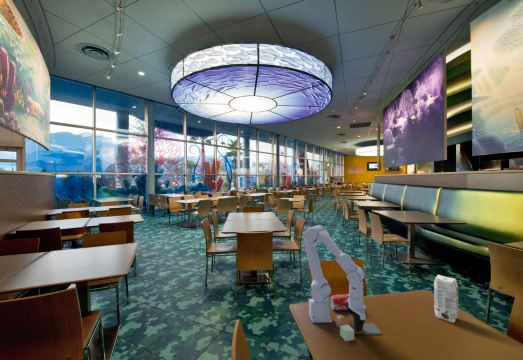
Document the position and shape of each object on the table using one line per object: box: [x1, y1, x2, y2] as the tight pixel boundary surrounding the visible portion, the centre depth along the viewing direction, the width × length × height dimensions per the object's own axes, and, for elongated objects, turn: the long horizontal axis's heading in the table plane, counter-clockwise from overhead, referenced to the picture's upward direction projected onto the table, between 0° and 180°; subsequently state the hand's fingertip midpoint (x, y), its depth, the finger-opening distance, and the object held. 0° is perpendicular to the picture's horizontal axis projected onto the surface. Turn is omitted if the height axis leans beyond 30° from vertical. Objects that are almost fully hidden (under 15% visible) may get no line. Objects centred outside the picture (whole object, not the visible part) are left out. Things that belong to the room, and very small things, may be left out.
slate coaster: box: [364, 323, 383, 336], centre depth 105 cm, size 7×7×1 cm
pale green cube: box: [339, 324, 355, 342], centre depth 100 cm, size 4×4×4 cm
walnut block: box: [348, 313, 365, 335], centre depth 104 cm, size 4×4×6 cm
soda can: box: [329, 293, 349, 311], centre depth 123 cm, size 7×7×13 cm
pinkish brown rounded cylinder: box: [335, 313, 345, 329], centre depth 108 cm, size 4×4×4 cm
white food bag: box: [433, 274, 459, 324], centre depth 114 cm, size 8×9×19 cm
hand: (356, 327), depth 104 cm, fingers closed on walnut block, 4 cm apart
